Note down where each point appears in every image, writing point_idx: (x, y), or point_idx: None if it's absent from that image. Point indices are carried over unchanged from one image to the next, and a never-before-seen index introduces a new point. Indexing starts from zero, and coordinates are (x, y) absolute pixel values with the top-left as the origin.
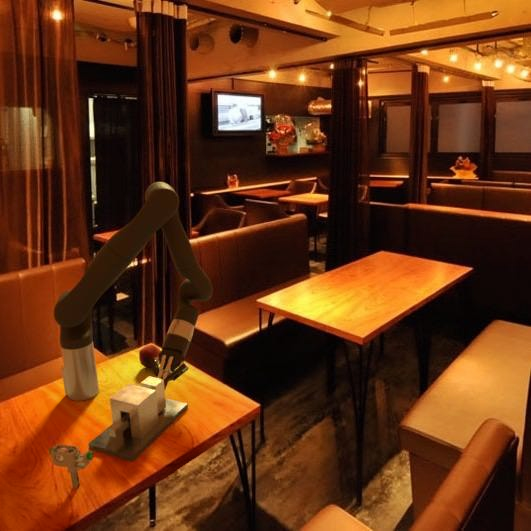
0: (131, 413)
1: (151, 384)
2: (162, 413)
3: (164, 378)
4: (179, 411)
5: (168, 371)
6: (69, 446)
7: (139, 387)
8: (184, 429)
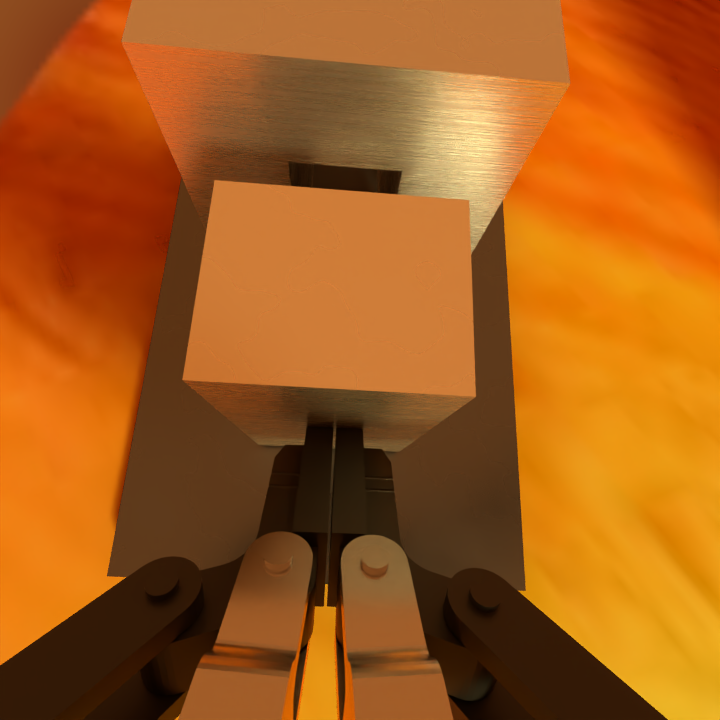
0: None
1: (294, 200)
2: None
3: (273, 541)
4: (133, 442)
5: (205, 657)
6: None
7: (379, 46)
8: (53, 318)
